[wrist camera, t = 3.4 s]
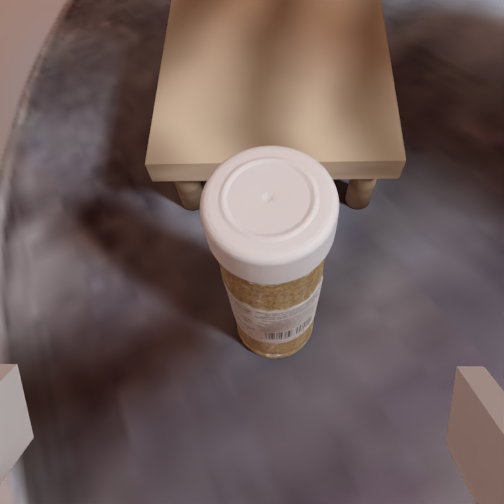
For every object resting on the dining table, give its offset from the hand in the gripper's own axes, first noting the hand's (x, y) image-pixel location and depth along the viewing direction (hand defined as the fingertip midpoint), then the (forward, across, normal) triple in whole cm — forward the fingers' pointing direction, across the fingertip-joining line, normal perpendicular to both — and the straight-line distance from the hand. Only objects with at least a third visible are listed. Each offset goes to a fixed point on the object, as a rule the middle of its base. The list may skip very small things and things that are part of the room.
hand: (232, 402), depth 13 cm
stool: (+22, +1, +6) cm, 23 cm away
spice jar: (+12, +1, -4) cm, 13 cm away
